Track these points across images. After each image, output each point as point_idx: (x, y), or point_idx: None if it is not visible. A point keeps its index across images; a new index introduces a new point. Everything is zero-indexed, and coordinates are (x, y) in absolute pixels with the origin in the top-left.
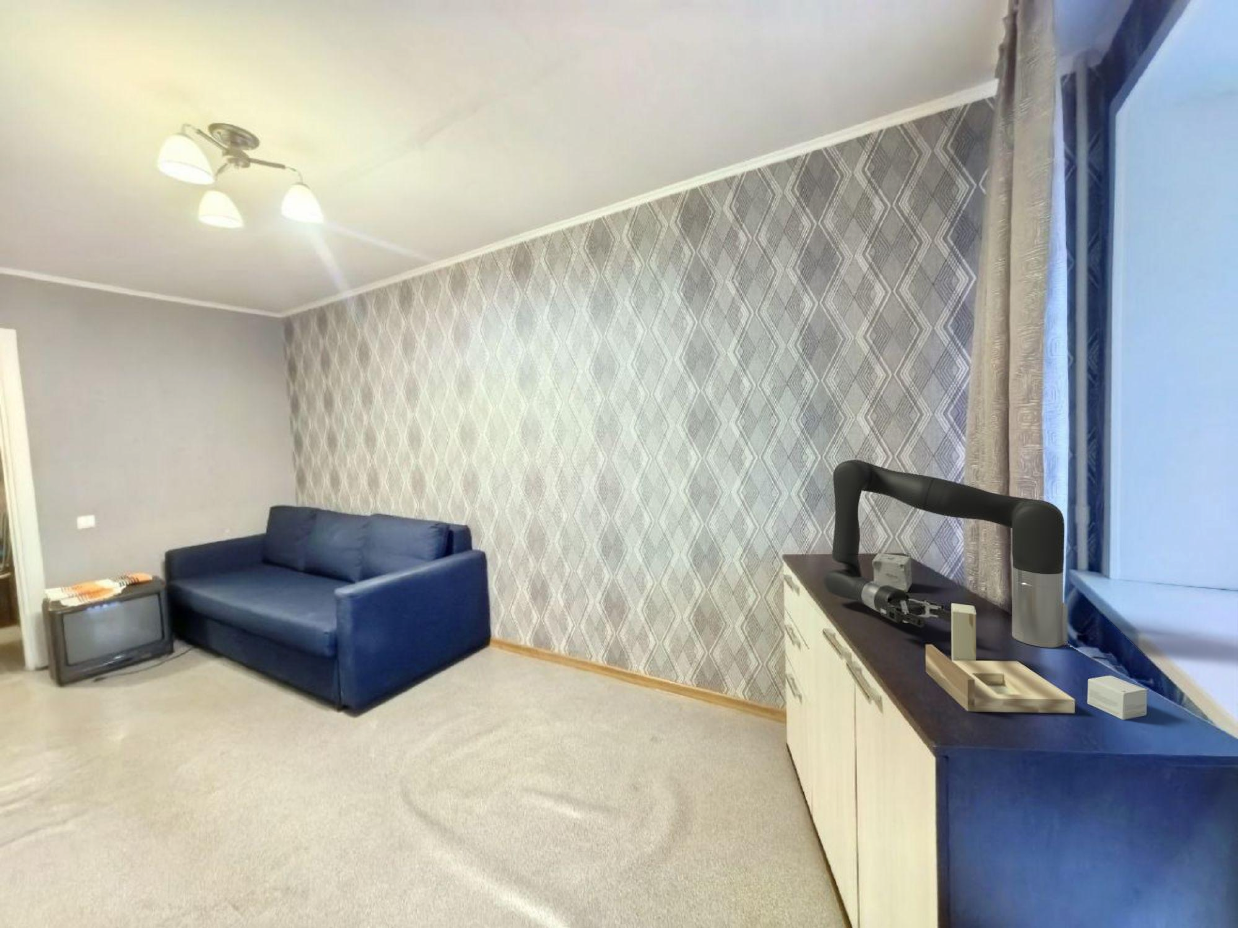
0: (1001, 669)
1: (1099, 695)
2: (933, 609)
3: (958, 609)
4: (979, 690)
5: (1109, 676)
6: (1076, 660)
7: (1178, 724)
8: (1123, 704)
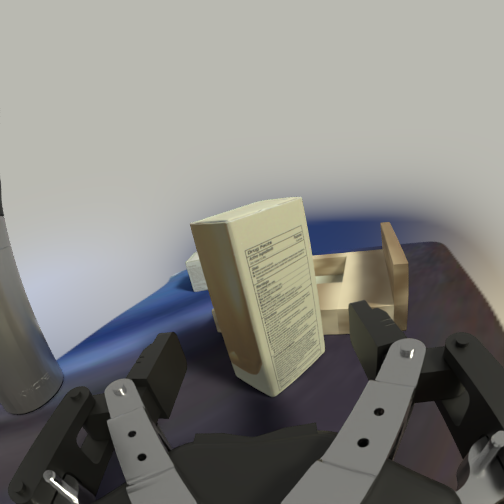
0: None
1: None
2: (90, 462)
3: (273, 201)
4: (364, 258)
5: (191, 260)
6: (90, 343)
7: None
8: None
